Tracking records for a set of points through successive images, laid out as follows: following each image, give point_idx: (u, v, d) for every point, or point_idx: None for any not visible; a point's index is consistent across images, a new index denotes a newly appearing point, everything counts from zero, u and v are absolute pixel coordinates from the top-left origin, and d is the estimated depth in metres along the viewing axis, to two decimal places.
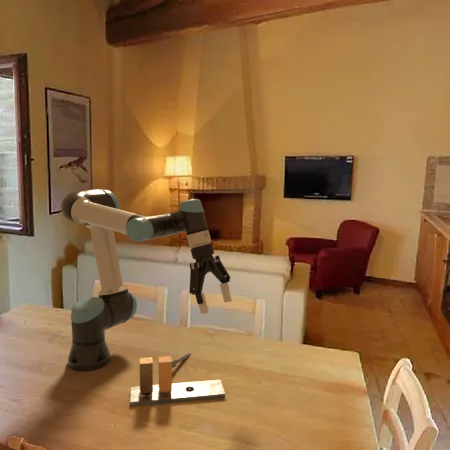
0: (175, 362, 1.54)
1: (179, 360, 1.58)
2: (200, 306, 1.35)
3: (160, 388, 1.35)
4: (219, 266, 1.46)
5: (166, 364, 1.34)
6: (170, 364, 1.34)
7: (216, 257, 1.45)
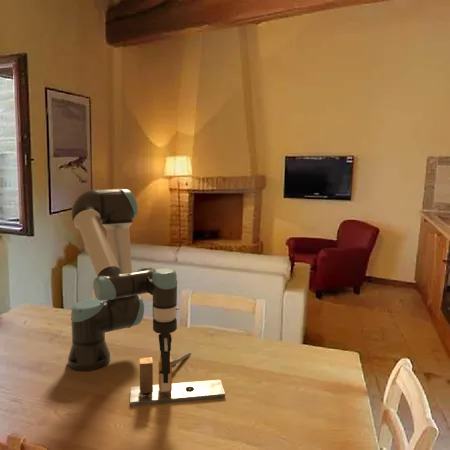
0: (175, 362, 1.54)
1: (179, 360, 1.58)
2: (163, 384, 1.34)
3: (160, 388, 1.35)
4: None
5: None
6: (170, 364, 1.34)
7: None
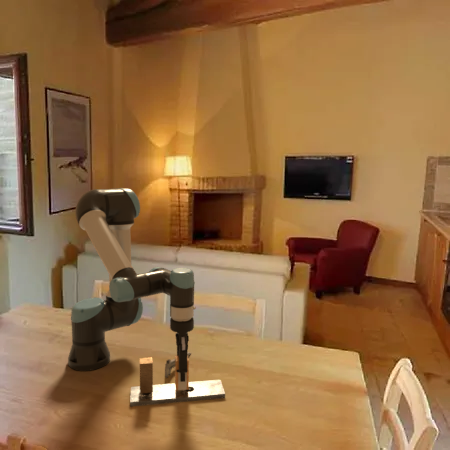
0: None
1: None
2: (180, 383, 1.35)
3: (177, 387, 1.36)
4: None
5: None
6: (187, 363, 1.35)
7: None
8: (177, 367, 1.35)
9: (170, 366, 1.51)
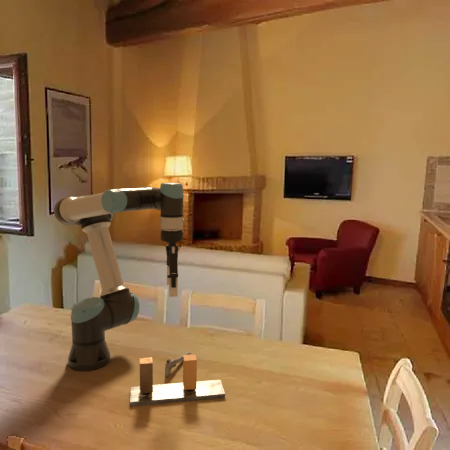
0: (175, 362, 1.55)
1: (179, 360, 1.58)
2: (171, 290, 1.38)
3: (185, 386, 1.37)
4: None
5: (191, 362, 1.36)
6: (195, 362, 1.36)
7: None
8: (185, 366, 1.35)
9: (170, 366, 1.51)
